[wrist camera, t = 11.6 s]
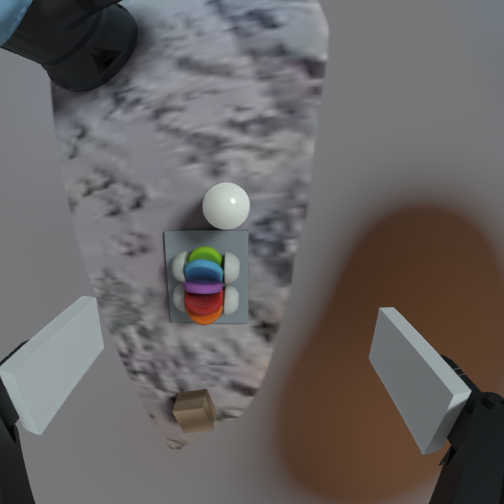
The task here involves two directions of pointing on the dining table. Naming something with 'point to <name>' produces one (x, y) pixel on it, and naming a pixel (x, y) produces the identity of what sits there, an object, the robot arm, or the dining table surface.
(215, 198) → the white glossy rounded part
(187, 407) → the walnut block
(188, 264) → the rainbow wheeled toy
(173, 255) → the felt mat
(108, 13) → the robot arm
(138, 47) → the dining table surface
